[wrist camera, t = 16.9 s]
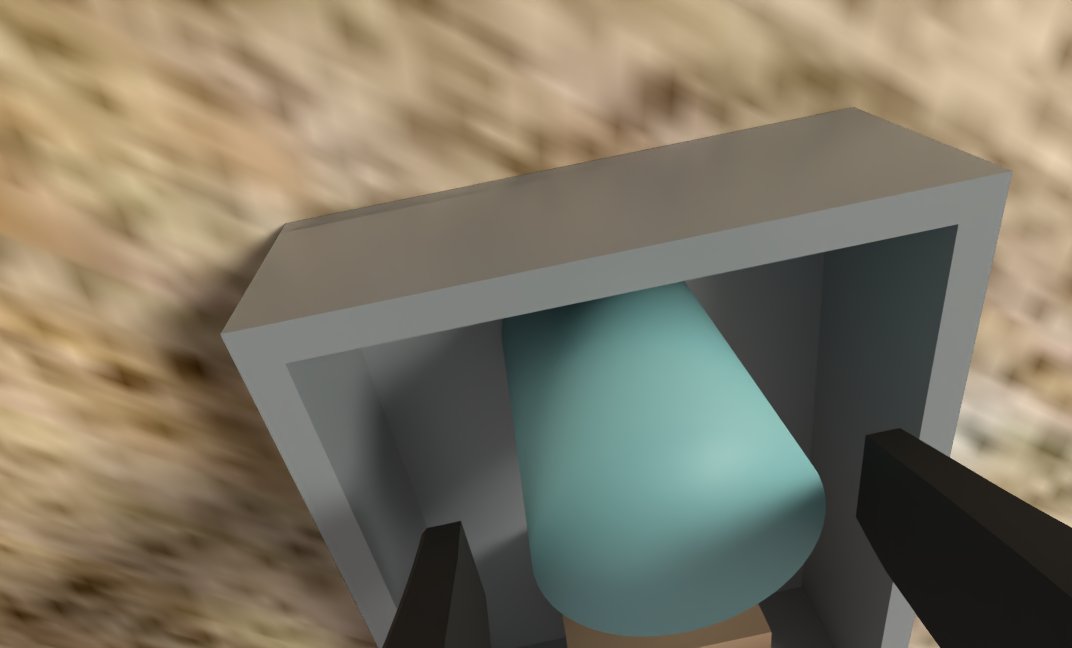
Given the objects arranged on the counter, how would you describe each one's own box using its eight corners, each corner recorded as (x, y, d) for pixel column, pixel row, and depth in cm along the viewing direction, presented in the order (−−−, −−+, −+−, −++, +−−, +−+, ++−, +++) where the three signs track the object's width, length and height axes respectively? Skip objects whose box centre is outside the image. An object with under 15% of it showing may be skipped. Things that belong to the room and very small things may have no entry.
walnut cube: (707, 587, 23) (767, 736, 18) (568, 616, 23) (596, 773, 18) (703, 485, 20) (771, 632, 16) (545, 518, 20) (572, 674, 16)
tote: (814, 582, 24) (892, 718, 20) (459, 658, 24) (460, 812, 20) (854, 107, 15) (1012, 171, 11) (285, 223, 15) (220, 334, 11)
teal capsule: (695, 385, 18) (817, 604, 12) (520, 422, 18) (556, 659, 12) (687, 221, 16) (836, 395, 10) (483, 263, 15) (504, 464, 9)
